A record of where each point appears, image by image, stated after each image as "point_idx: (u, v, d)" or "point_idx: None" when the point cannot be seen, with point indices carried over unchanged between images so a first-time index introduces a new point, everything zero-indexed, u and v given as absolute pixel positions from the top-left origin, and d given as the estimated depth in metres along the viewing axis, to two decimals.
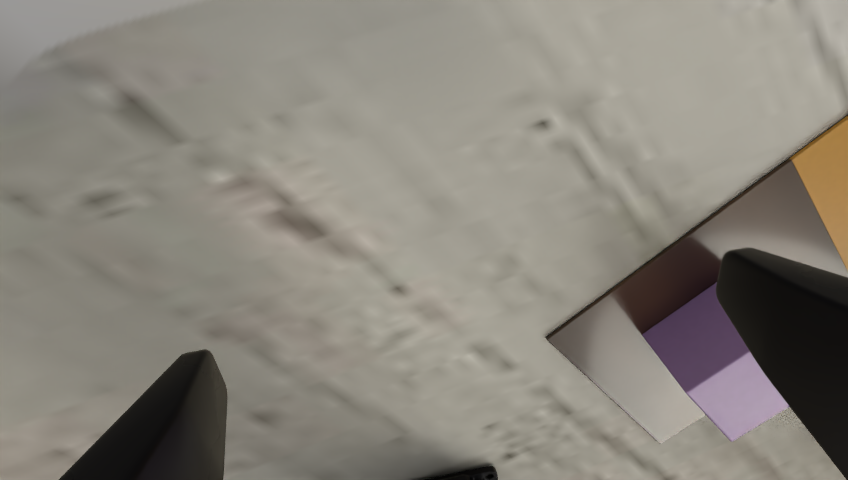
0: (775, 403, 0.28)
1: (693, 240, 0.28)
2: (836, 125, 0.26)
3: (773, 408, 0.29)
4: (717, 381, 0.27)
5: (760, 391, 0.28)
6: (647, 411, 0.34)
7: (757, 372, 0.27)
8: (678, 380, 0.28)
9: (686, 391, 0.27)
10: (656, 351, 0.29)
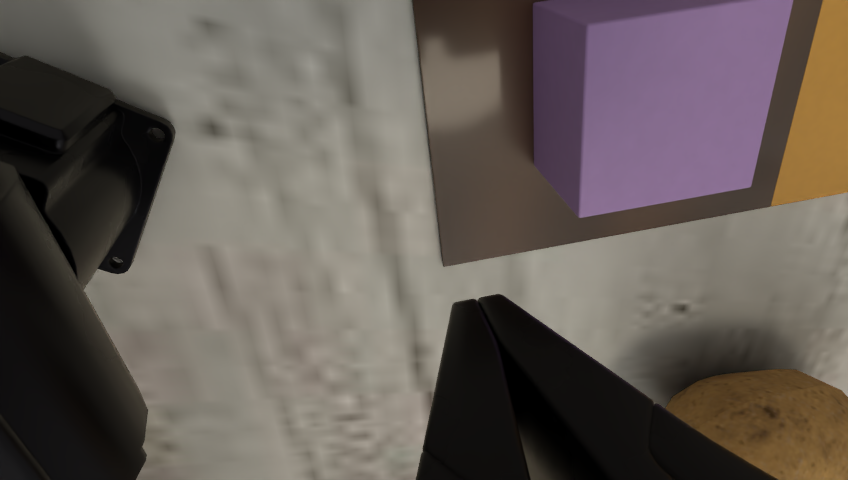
0: (673, 174, 0.17)
1: None
2: None
3: (665, 183, 0.17)
4: (640, 39, 0.15)
5: (672, 126, 0.16)
6: (459, 183, 0.21)
7: (695, 71, 0.15)
8: (578, 18, 0.15)
9: (588, 23, 0.14)
10: (551, 8, 0.17)
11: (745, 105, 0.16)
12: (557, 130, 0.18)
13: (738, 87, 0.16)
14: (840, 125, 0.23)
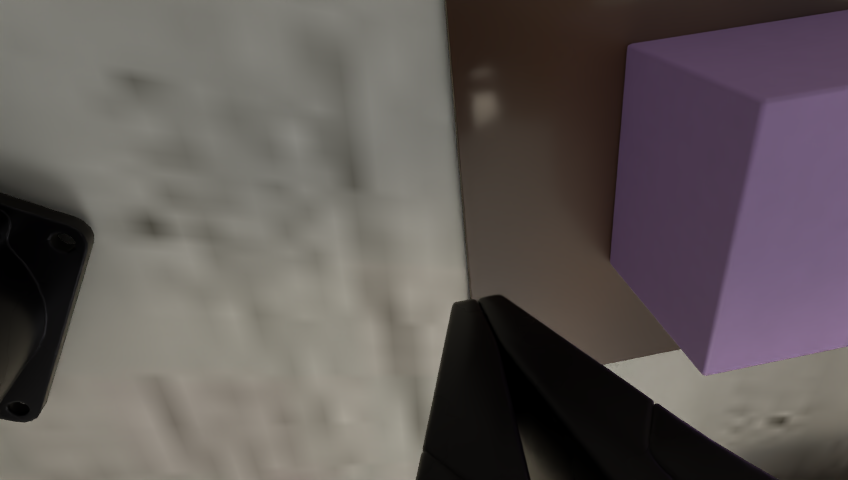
0: None
1: None
2: None
3: (838, 325, 0.11)
4: (846, 123, 0.09)
5: None
6: (506, 288, 0.15)
7: None
8: (736, 85, 0.09)
9: (766, 99, 0.08)
10: (666, 57, 0.11)
11: None
12: (666, 237, 0.12)
13: None
14: None
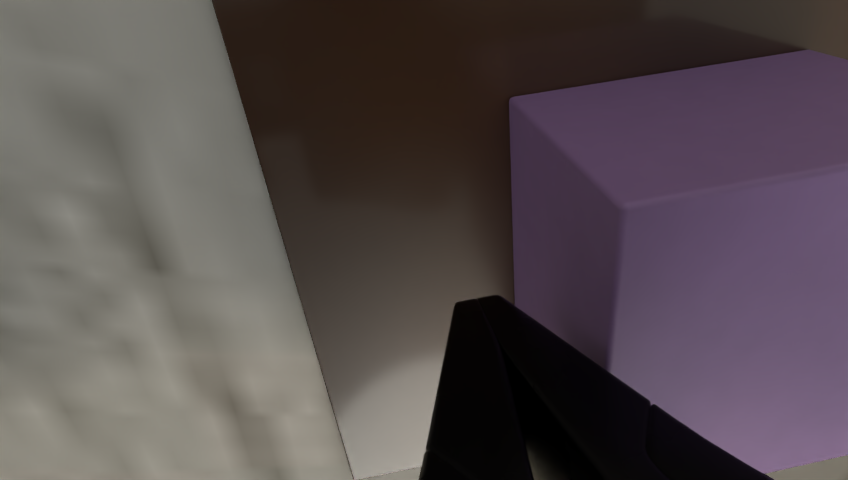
0: (774, 439, 0.09)
1: None
2: None
3: (758, 452, 0.09)
4: (740, 230, 0.07)
5: (785, 369, 0.08)
6: (367, 375, 0.13)
7: (847, 278, 0.07)
8: (599, 176, 0.07)
9: (626, 204, 0.06)
10: (541, 121, 0.09)
11: None
12: None
13: None
14: None
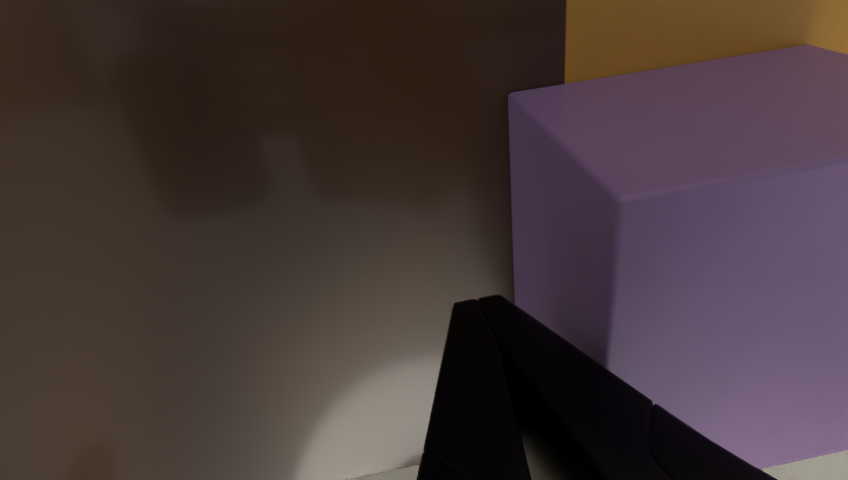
0: (774, 433, 0.09)
1: None
2: None
3: (758, 446, 0.09)
4: (739, 221, 0.07)
5: (783, 363, 0.08)
6: None
7: (845, 271, 0.07)
8: (597, 170, 0.07)
9: (623, 196, 0.06)
10: (539, 116, 0.09)
11: None
12: (553, 330, 0.10)
13: None
14: None
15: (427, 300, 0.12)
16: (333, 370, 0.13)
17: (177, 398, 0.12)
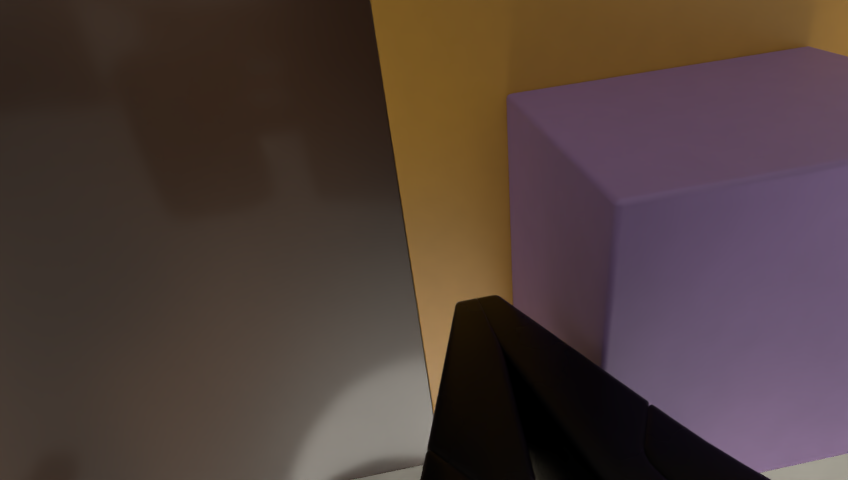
0: (772, 436, 0.09)
1: None
2: None
3: (757, 450, 0.09)
4: (737, 225, 0.06)
5: (783, 367, 0.08)
6: None
7: (844, 275, 0.07)
8: (595, 172, 0.07)
9: (620, 199, 0.06)
10: (538, 118, 0.09)
11: None
12: None
13: None
14: None
15: (277, 329, 0.12)
16: (189, 399, 0.12)
17: (26, 428, 0.12)
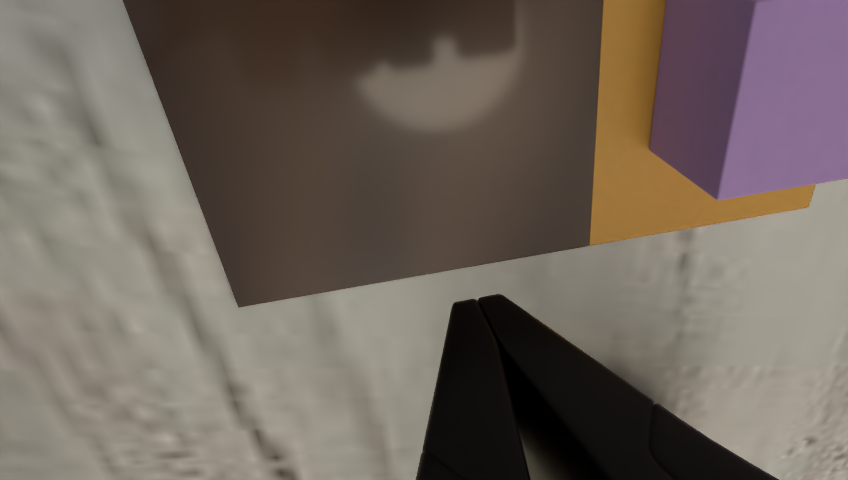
0: (815, 157, 0.17)
1: None
2: None
3: (807, 166, 0.17)
4: (806, 16, 0.15)
5: (822, 107, 0.16)
6: (235, 224, 0.20)
7: None
8: None
9: (757, 0, 0.14)
10: None
11: None
12: (693, 112, 0.18)
13: None
14: (649, 164, 0.21)
15: (516, 133, 0.20)
16: (455, 181, 0.21)
17: (361, 195, 0.20)
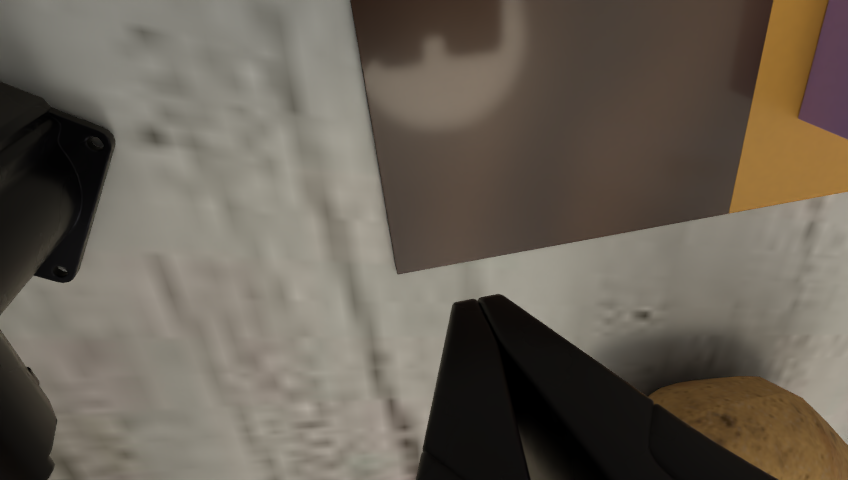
0: None
1: None
2: None
3: None
4: None
5: None
6: (409, 190, 0.21)
7: None
8: None
9: None
10: None
11: None
12: None
13: None
14: (796, 132, 0.22)
15: (680, 101, 0.21)
16: (617, 149, 0.21)
17: (529, 162, 0.21)
